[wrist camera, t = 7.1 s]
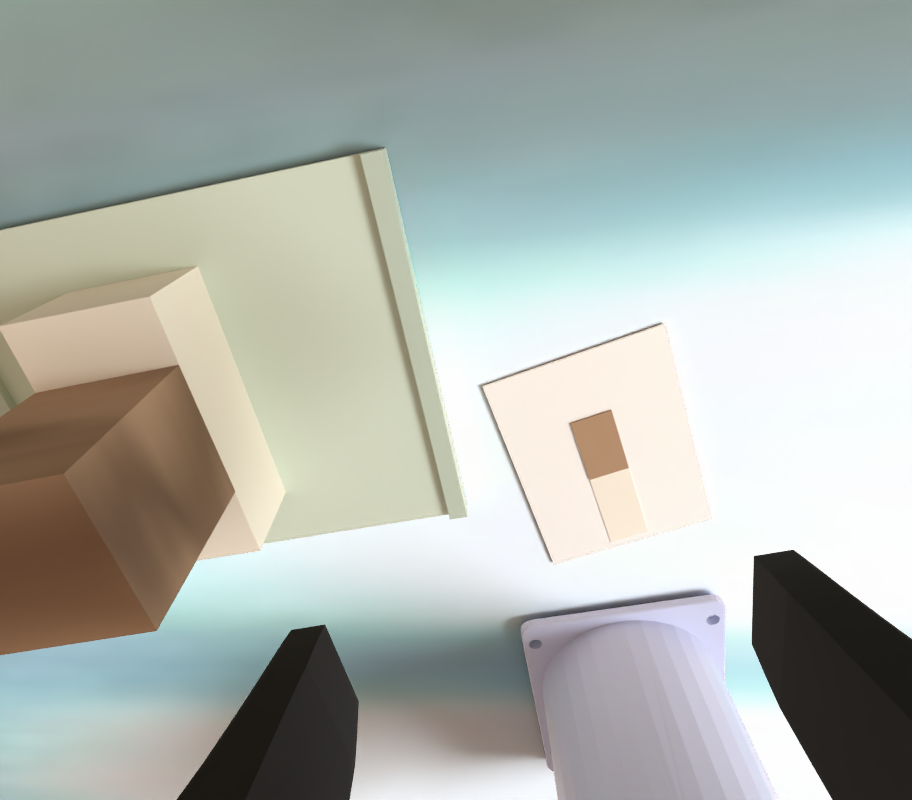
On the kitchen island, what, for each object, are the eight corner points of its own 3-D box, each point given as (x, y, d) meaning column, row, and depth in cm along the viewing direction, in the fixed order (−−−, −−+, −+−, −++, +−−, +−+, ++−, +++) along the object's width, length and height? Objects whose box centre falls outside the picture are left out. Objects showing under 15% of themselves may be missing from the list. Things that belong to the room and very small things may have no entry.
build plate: (466, 501, 22) (466, 516, 21) (105, 558, 23) (92, 575, 22) (386, 147, 16) (382, 149, 15) (-79, 246, 17) (-105, 253, 17)
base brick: (285, 492, 21) (260, 550, 18) (176, 510, 21) (135, 570, 18) (197, 266, 17) (149, 296, 14) (68, 292, 17) (-3, 326, 15)
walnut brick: (235, 491, 17) (156, 630, 12) (105, 514, 17) (-17, 657, 13) (178, 364, 15) (63, 473, 11) (35, 393, 16) (-134, 510, 11)
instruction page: (710, 517, 22) (712, 520, 22) (553, 562, 23) (554, 565, 23) (664, 323, 19) (665, 324, 18) (482, 385, 19) (482, 388, 19)
